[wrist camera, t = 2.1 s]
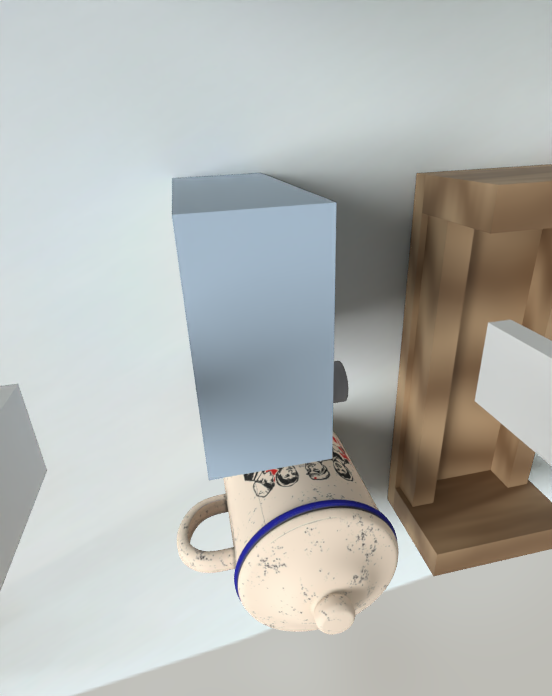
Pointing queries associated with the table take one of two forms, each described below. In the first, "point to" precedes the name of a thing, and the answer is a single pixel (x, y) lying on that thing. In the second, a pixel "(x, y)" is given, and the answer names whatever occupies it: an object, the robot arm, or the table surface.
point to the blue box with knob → (259, 319)
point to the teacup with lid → (299, 544)
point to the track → (469, 365)
